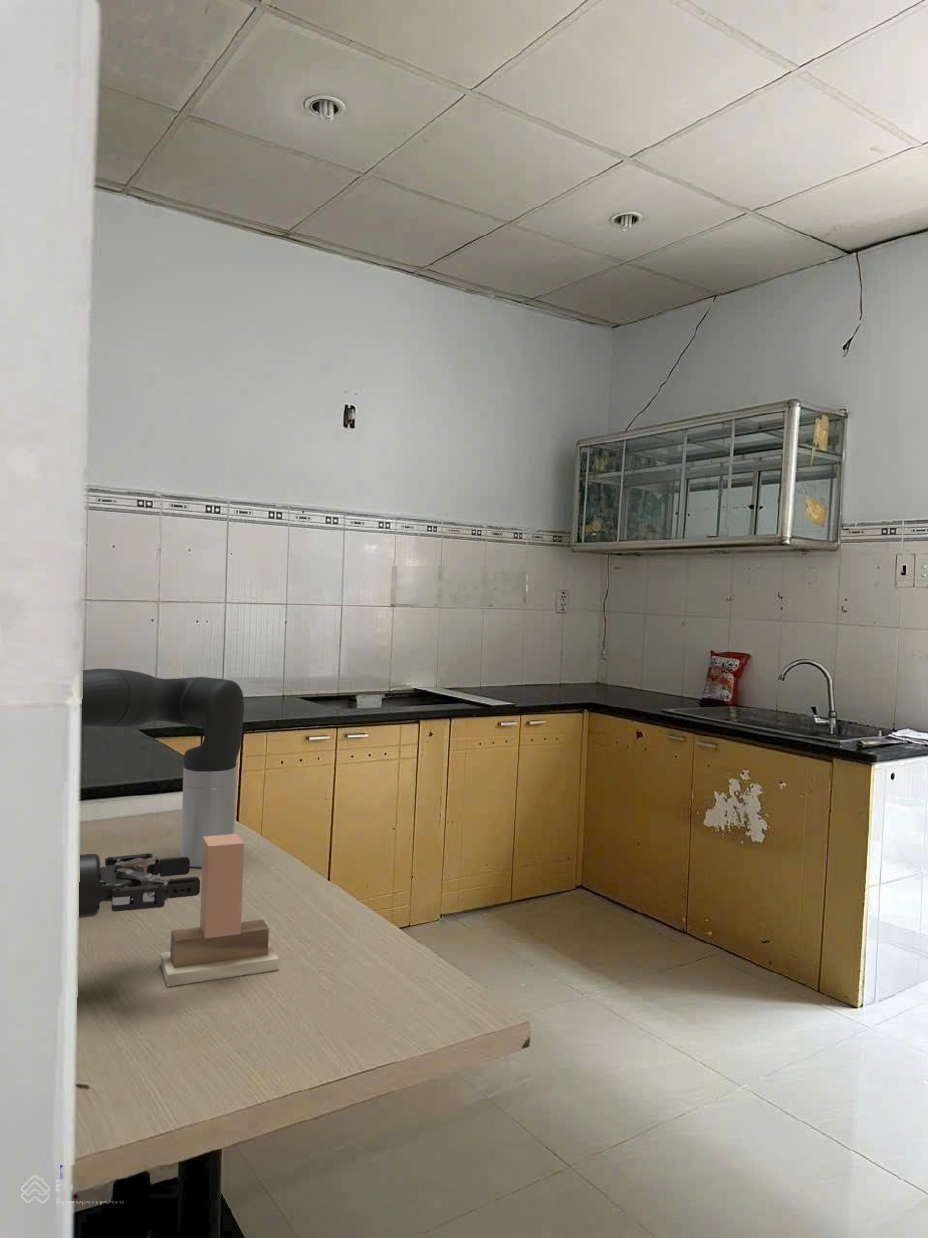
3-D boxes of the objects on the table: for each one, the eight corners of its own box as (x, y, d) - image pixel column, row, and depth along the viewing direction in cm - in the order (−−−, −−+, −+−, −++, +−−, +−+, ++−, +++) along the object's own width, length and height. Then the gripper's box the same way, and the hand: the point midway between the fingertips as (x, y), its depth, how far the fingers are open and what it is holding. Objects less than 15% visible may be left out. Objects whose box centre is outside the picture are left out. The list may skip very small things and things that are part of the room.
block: (199, 925, 118) (202, 836, 117) (234, 921, 119) (237, 833, 119) (205, 938, 113) (208, 846, 113) (240, 934, 115) (243, 843, 115)
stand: (160, 964, 117) (161, 926, 117) (265, 949, 123) (267, 913, 123) (167, 986, 110) (168, 947, 110) (278, 970, 117) (279, 932, 116)
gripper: (59, 876, 101) (204, 862, 108) (56, 841, 114) (186, 831, 121) (57, 941, 101) (202, 923, 108) (54, 899, 114) (184, 886, 121)
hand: (194, 875), depth 115 cm, fingers open, 8 cm apart
